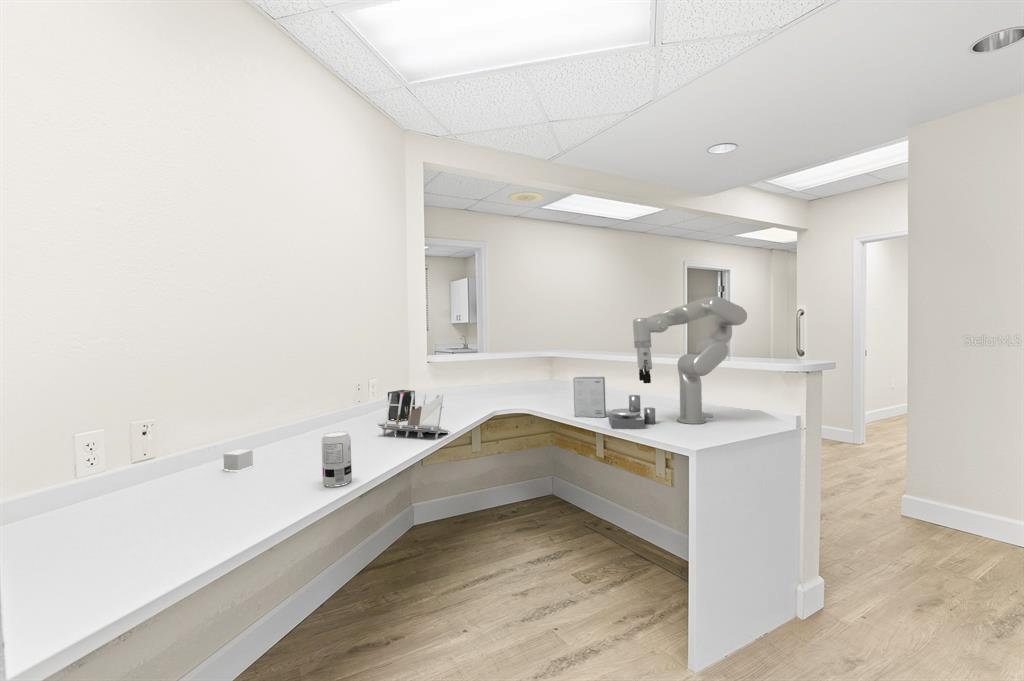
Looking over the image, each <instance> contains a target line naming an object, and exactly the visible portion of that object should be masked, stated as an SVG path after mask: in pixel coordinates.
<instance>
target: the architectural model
mask: <svg viewBox="0 0 1024 681" xmlns="http://www.w3.org/2000/svg"><path fill="white" fill-rule="evenodd" d="M391 396H392V394H391V393H390V395H389V401H388V400H387V403H385V405H386V406H387V408H386V413H385V418H384V423H379V422H378V423H377V427H379V428H381V430H383V431H382V435H383V434H385V435H386V432H387V430H388V431H394V434H393V436H394V435H396V436H398V431H397V430H399V432H406V433H405V437H406V436H408V437H409V434H410V431H414V432H413V433H417V438H418V437H420V438H421V437H423V438H424V435H423V433H425V432H429V434H430V433H431V434H435V436H434V437H435V438H437V437H439V434H440V433H448V432H449V433H451V431H449V430H447V429H444V428H442V427H441V426H440V423H441V416H442V408H443V409H444V408H445V407H444V406H443V399H444V395H443V394H441V395H439V394H436V396H435V397H434V399H433V400H431V401H428V402H427V403H426V399H427V394H423V398H422V403H421V404H422V405H420V404H419V405H418V404H415V405H413V401H414V394H412V399H411V405H410V412H409V418H408V420H407V424H399V422H400V421H399V417H400V410H401V404H402V398H403V394H401V396H400V402H399V405H398V404H390V402H391ZM390 405H391V406H399V408H398V415H397V421H395V422H396V423H388V421H389V417H388V414H389V408H390ZM413 406H415V409H414V410H412V407H413ZM435 438H434V439H435ZM437 439H438V438H437Z"/></svg>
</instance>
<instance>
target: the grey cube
mask: <svg viewBox="0 0 1024 681" xmlns="http://www.w3.org/2000/svg"><path fill="white" fill-rule="evenodd" d="M253 454H254V452H253V450H252V449H241V448H240V449H239V448H238V449H235V450H233V451H228V452H226V453H223V470H224V469H228V470H241V469H243V468H246V467H249V466H252V465H253V466H254V456H253Z"/></svg>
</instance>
